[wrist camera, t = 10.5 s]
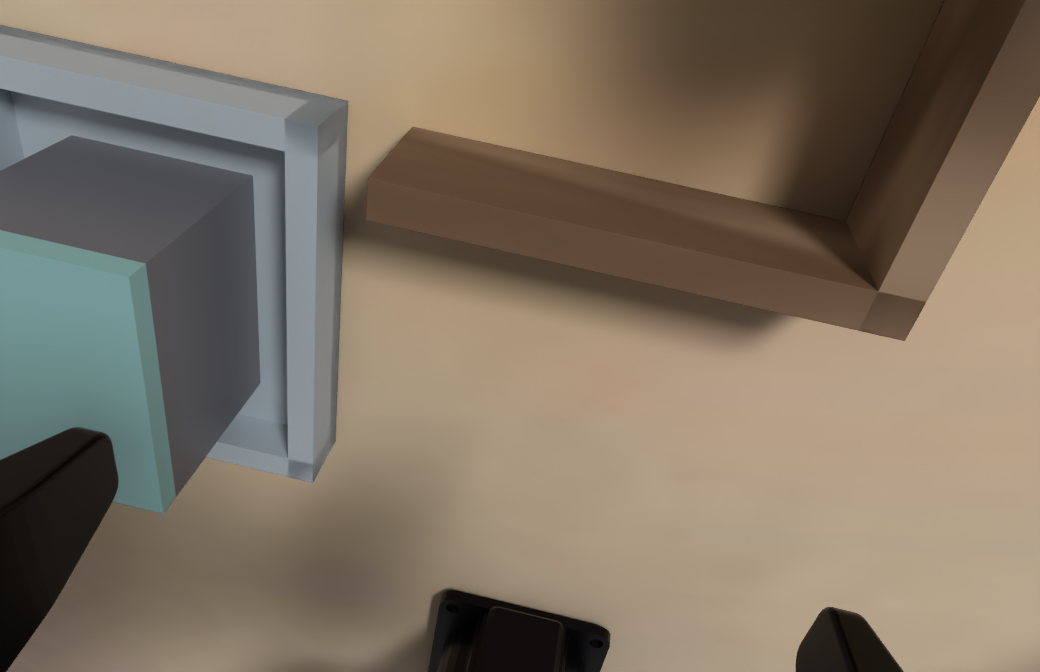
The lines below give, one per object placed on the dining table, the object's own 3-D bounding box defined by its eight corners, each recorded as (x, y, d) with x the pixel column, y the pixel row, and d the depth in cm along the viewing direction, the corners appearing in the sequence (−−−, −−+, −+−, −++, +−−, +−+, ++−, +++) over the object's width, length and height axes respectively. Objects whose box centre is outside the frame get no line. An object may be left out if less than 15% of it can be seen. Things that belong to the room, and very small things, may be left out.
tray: (335, 441, 26) (312, 482, 24) (63, 376, 26) (22, 413, 24) (348, 100, 19) (318, 125, 17) (-15, 21, 19) (-78, 38, 18)
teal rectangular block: (260, 383, 24) (163, 513, 19) (108, 347, 24) (-25, 468, 19) (253, 175, 20) (128, 277, 15) (71, 135, 20) (-105, 223, 16)
